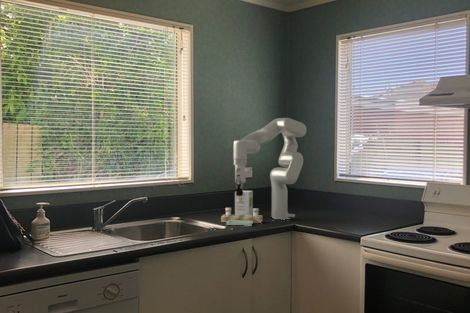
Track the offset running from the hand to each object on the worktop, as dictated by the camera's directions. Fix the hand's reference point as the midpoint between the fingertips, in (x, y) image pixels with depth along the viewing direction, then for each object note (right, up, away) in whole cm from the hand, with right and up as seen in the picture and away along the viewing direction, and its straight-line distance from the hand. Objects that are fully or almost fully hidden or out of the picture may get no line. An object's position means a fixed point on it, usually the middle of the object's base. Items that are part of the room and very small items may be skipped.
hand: (239, 194), depth 265 cm
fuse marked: (0, -4, 0) cm, 4 cm away
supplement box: (+3, -17, +27) cm, 32 cm away
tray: (0, -17, +1) cm, 17 cm away
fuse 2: (+9, -17, +9) cm, 21 cm away
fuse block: (+1, -17, +10) cm, 20 cm away
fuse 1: (-6, -16, +11) cm, 21 cm away
